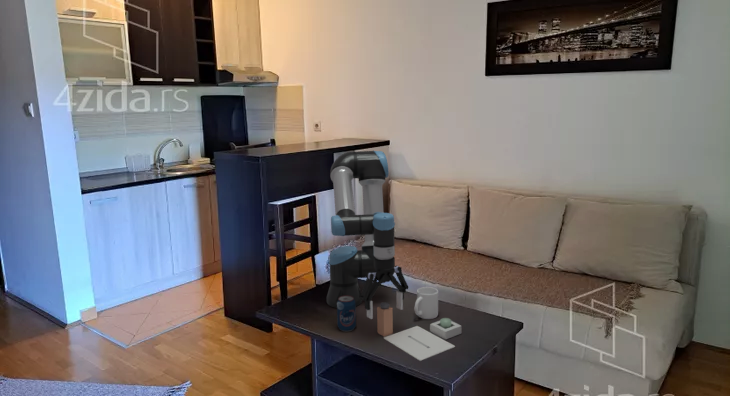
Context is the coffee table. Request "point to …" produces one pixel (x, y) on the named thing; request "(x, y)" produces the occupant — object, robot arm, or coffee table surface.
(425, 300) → the mug
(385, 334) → the block with dark dome
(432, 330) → the button housing
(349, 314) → the soda can
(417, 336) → the paper
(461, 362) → the coffee table surface
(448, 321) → the button
